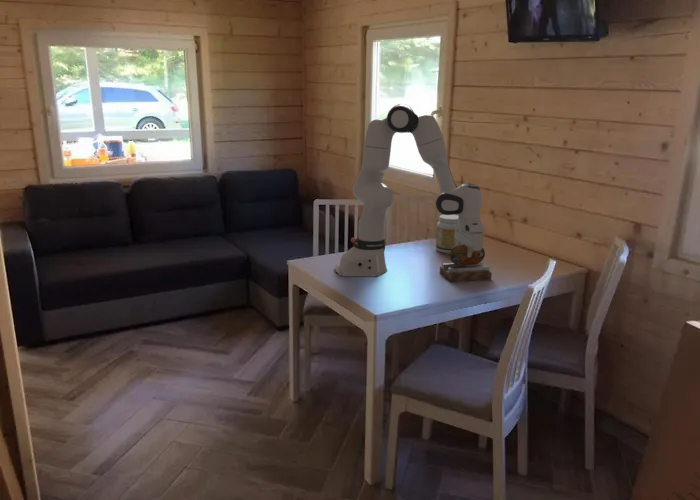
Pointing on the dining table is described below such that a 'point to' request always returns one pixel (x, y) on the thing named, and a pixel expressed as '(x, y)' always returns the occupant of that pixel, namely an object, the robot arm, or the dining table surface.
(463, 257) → the tin
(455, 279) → the dock
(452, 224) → the supplement tub
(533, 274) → the dining table surface
